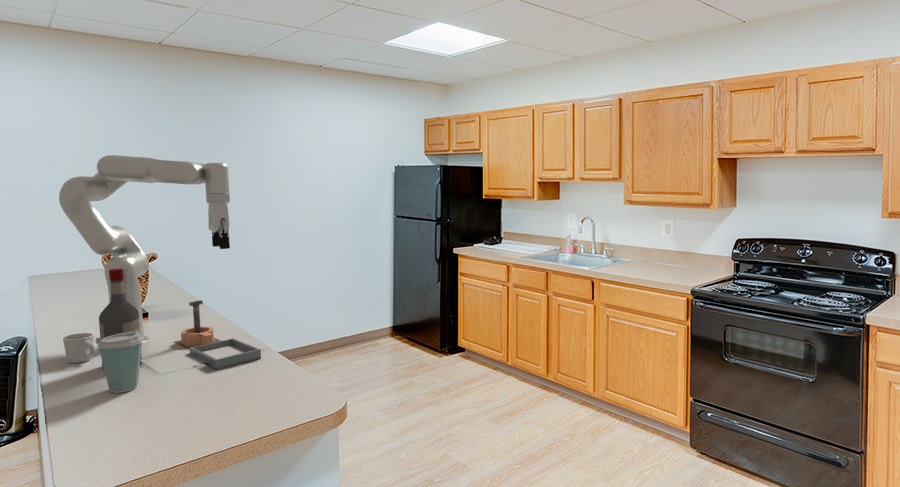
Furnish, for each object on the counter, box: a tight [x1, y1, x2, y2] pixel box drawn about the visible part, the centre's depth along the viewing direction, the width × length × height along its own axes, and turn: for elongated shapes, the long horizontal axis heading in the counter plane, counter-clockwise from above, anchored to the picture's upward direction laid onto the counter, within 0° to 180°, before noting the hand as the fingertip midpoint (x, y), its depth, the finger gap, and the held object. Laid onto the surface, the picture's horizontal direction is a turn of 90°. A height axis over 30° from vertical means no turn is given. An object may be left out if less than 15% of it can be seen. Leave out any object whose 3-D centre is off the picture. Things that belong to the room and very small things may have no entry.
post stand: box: [173, 299, 222, 350], centre depth 188 cm, size 12×12×15 cm
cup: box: [62, 332, 95, 364], centre depth 171 cm, size 11×8×8 cm
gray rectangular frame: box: [189, 338, 262, 371], centre depth 175 cm, size 15×19×3 cm
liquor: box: [98, 269, 143, 369], centre depth 165 cm, size 9×9×30 cm
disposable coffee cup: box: [97, 332, 144, 394], centre depth 148 cm, size 11×11×15 cm
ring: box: [180, 326, 215, 346], centre depth 187 cm, size 10×14×4 cm
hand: (221, 247), depth 191 cm, fingers open, 9 cm apart
